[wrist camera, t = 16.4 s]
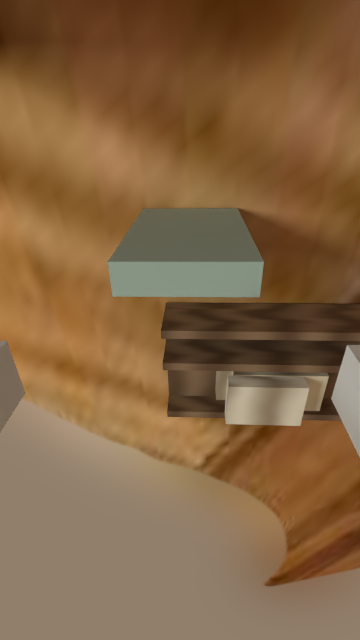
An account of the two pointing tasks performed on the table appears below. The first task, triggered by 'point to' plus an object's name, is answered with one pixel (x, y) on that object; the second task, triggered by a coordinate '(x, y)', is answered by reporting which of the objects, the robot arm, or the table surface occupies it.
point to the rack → (252, 348)
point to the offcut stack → (269, 396)
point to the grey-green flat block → (187, 255)
